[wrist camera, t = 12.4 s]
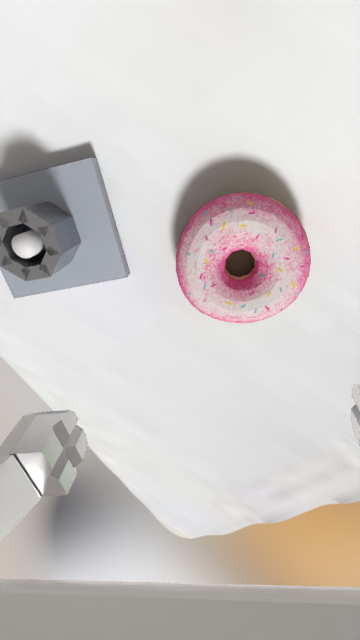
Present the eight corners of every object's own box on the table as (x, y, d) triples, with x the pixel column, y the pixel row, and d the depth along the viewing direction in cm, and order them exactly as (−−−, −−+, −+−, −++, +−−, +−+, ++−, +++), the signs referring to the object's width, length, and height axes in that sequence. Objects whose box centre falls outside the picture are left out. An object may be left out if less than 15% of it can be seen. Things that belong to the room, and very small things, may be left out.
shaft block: (96, 157, 30) (70, 155, 24) (129, 273, 35) (115, 293, 30) (-28, 189, 32) (-78, 193, 27) (20, 293, 38) (-13, 316, 32)
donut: (164, 207, 32) (157, 214, 28) (296, 174, 30) (312, 175, 25) (192, 320, 38) (190, 341, 33) (305, 299, 35) (319, 319, 31)
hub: (66, 197, 31) (42, 202, 26) (87, 259, 33) (69, 273, 29) (9, 210, 32) (-24, 217, 27) (34, 269, 34) (8, 284, 30)
